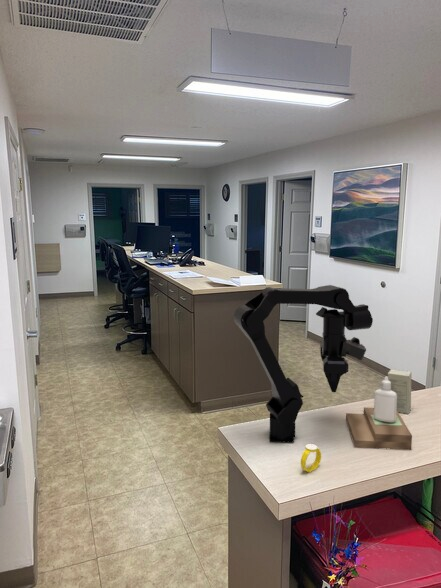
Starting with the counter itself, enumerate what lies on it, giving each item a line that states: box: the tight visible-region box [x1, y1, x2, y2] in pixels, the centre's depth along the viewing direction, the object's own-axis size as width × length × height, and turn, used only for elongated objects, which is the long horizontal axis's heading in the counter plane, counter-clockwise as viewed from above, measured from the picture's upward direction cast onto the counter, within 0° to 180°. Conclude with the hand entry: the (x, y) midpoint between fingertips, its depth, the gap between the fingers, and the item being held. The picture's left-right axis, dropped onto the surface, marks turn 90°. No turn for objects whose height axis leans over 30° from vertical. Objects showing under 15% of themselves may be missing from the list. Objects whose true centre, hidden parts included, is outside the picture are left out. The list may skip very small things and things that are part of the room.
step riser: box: [345, 406, 413, 451], centre depth 120 cm, size 14×16×4 cm
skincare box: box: [387, 368, 412, 415], centre depth 133 cm, size 6×4×12 cm
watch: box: [300, 443, 322, 473], centre depth 104 cm, size 6×3×6 cm, turn 128°
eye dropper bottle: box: [373, 375, 397, 422], centre depth 118 cm, size 4×6×12 cm
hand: (332, 385), depth 122 cm, fingers open, 9 cm apart
